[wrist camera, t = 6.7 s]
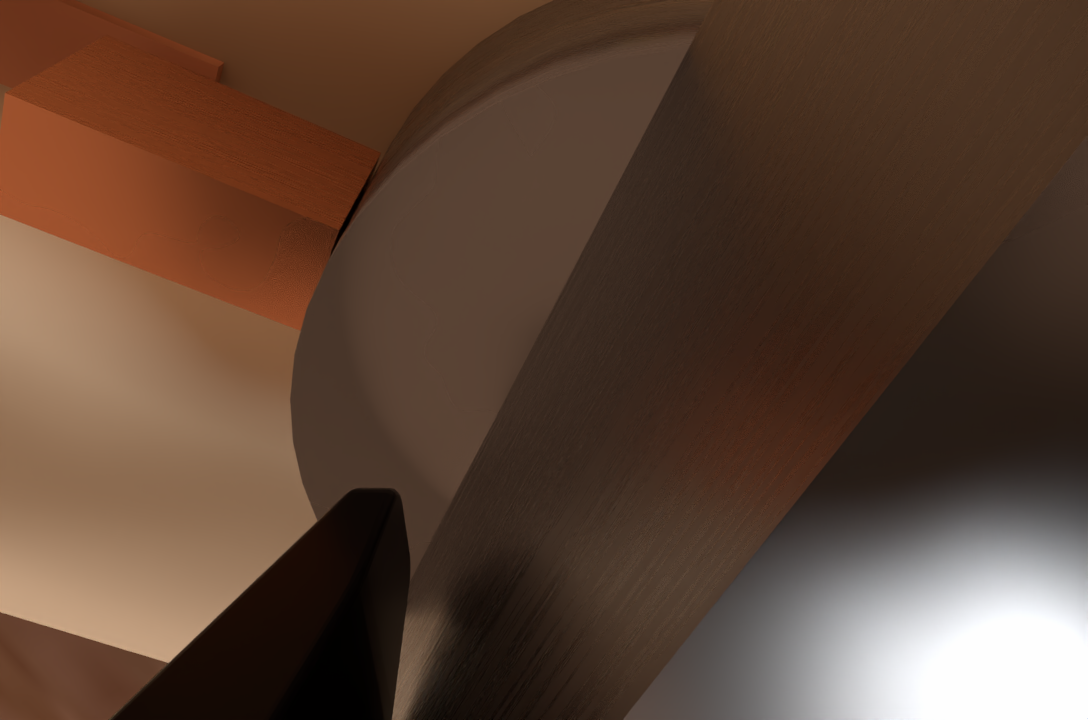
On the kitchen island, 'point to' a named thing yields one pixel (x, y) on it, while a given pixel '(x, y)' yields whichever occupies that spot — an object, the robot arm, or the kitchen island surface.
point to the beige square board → (177, 330)
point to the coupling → (663, 342)
